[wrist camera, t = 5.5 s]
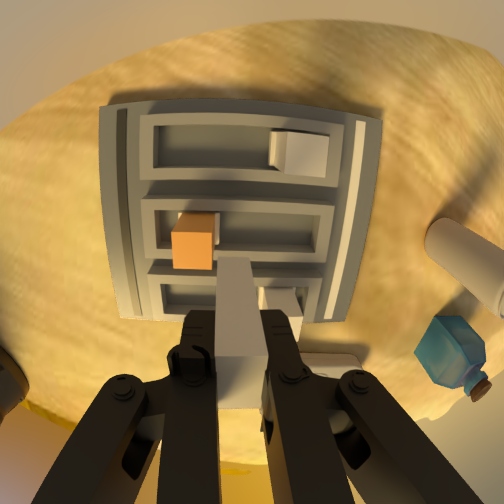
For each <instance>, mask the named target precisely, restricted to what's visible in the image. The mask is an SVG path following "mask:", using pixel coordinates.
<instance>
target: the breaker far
mask: <svg viewBox="0 0 504 504" xmlns="http://www.w3.org/2000/svg"><path fill="white" fill-rule="evenodd" d="M295 291H296V287H263V286H258V295H257V300H258V305H259V310H263V309H281V310H282V311H283V312H284V313H285V314H286V315H287V316H288V319H289V322H290V325H291V328H292V331H293V335H294V337H295V340H296V342H298V340H299V335H300V330H301V325H302V320H303V314H302V312H301V309H300V306H299V304H298V301H297V298H296V295H295Z"/></svg>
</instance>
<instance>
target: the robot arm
mask: <svg viewBox="0 0 504 504" xmlns="http://www.w3.org/2000/svg"><path fill="white" fill-rule="evenodd" d="M181 335H182V336H181V340H180V344H179V345H176V346H175V347H173V348H172V349H171V350H170V351H169V353H168V355H167V361H168V366H169V371H170V374H169V375H168V376H167V377H165V378H163V379H160V380H156V381H150V382H144V383H143V382H142V381H141V380H140V379H139V378H137V377H135V376H134V375H129V374H121V375H116V376H114V377H112V378H110V379H109V380H108V381H107V382H106V383H105V384H104V385H103V387H102V388H101V390H100V391H99V393H98V394H97V396H96V397H95V399H94V400H93V402H92V403H91V405H90V406H89V408H88V409H87V411H86V412H85V414H84V415H83V417H82V418H81V420H80V422H79V423H78V425H77V426H76V428H75V429H74V431H73V433H72V434H71V436H70V438H69V439H68V441H67V442H66V444H65V446H64V447H63V449H62V450H61V452H60V454H59V456H58V457H57V459H56V460H55V462H54V464H53V466H52V467H51V469H50V471H49V472H48V474H47V476H46V477H45V479H44V481H43V483H42V484H41V486H40V488H39V490H38V492H37V493H36V495H35V497H34V499H33V501H32V503H31V504H134V502H135V500H136V498H137V495H138V493H139V490H140V488H141V485H142V483H143V481H144V479H145V476H146V474H147V471H148V469H149V466H150V464H151V462H152V460H153V457H154V455H155V452H156V450H157V448H158V445H159V443H160V441H161V440H162V445H161V455H160V466H159V476H158V489H157V504H222V494H221V475H220V451H219V421H218V409H256V408H261V403H262V407H263V417H262V423H261V429H260V432H264V439H265V446H266V452H267V459H268V466H269V472H270V479H271V486H272V492H273V498H274V504H355V501H354V498H353V495H352V492H351V489H350V485H349V482H348V479H347V476H348V478H349V479H350V481H351V482H352V484H353V485H354V487H355V488H356V490H357V491H358V493H359V494H360V496H361V497H362V499H363V500H364V502H365V503H366V504H484V503H483V502H482V501H481V500H480V499H479V497H478V496H477V495H476V494H475V493H474V491H473V490H472V489H471V488H470V486H469V485H468V484H467V483H466V482H465V480H464V479H463V478H462V477H461V476H460V475H459V473H458V472H457V471H456V470H455V469H454V468H453V466H452V465H451V464H450V463H449V462H448V460H447V459H446V458H445V457H444V456H443V455H442V453H441V452H440V451H439V450H438V449H437V447H436V446H435V445H434V444H433V443H432V442H431V441H430V439H429V438H428V437H427V436H426V435H425V433H424V432H423V431H422V430H421V429H420V428H419V426H418V425H417V424H416V423H415V422H414V421H413V419H412V418H411V417H410V416H409V415H408V414H407V413H406V411H405V410H404V409H403V408H402V407H401V406H400V404H399V403H398V402H397V401H396V400H395V399H394V398H393V396H392V395H391V394H390V393H389V392H388V391H387V390H386V388H385V387H384V386H383V385H382V384H381V383H380V382H379V380H378V379H377V378H376V377H375V376H374V375H372V374H371V373H369V372H367V371H364V370H359V369H354V370H349V371H347V372H345V373H344V374H343V375H342V376H341V378H340V379H338V378H331V377H324V376H320V375H317V374H315V373H313V372H312V371H311V369H310V368H309V367H308V366H307V365H305V364H304V363H303V361H302V359H301V355H300V352H299V349H298V346H297V343H296V340H295V337H294V335H293V331H292V328H291V325H290V322H289V319H288V316H287V315H286V314H285V313H284V312H283V311H282V310H281V309H263V310H259V305H258V300H257V295H256V290H255V285H254V280H253V274H252V269H251V264H250V259H249V257H218V261H217V284H216V310H190V312H189V313H188V314H187V315H186V316H185V317H184V322H183V328H182V334H181ZM28 391H29V385H28V382H27V380H26V378H25V376H24V375H23V373H22V371H21V370H20V369H19V367H18V366H17V365H16V363H15V362H14V361H13V360H12V358H11V357H10V356H9V355H8V354H7V353H6V352H5V351H4V350H3V349H2V348H1V347H0V426H1V423H2V421H3V419H4V417H5V416H6V415H7V414H8V413H9V412H10V411H11V410H12V409H13V408H15V406H17V404H18V403H20V402H22V401H23V400H24V399H25V397H26V395H27V393H28Z"/></svg>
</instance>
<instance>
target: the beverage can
mask: <svg viewBox="0 0 504 504" xmlns="http://www.w3.org/2000/svg"><path fill="white" fill-rule="evenodd" d="M425 251H426V254H427V255H428V256H429V257H430V258H431V259H432V260H434V261H435V262H436V263H437V264H439V265H440V266H441V267H442V268H443V269H445V270H446V271H447V272H448V273H450V274H451V275H452V276H453V277H454V278H455V279H457V280H458V281H459V282H460V283H461V284H462V285H463V286H464V287H466V288H467V289H468V290H469V291H470V292H471V293H472V294H473V295H474V296H475V297H476V298H477V299H479V300H480V301H481V302H482V303H483V304H484V305H485V306H486V307H487V308H488V309H489V310H490V311H491V312H492V313H493V314H494V315H496V316H499V317H500V318H501V319H504V250H502V249H500V248H499V247H497V246H496V245H494V244H493V243H491V242H489V241H488V240H486V239H485V238H483V237H481V236H480V235H478V234H476V233H475V232H473V231H471V230H469V229H468V228H466V227H464V226H463V225H461V224H459V223H457V222H455V221H454V220H452V219H450V218H441V219H438V220H437V221H435V222H434V223H433V224H432V225H431V226H430V227H429V229H428V231H427V233H426V236H425Z"/></svg>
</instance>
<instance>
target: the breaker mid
mask: <svg viewBox="0 0 504 504" xmlns="http://www.w3.org/2000/svg"><path fill="white" fill-rule="evenodd" d="M171 237H172V255H173V268H175V269H207V270H212V263H213V256H214V248H215V245H219V239H220V211H198V210H180V211H179V212H178V221H177V223H176V224H175V226H174V228H173V230H172V232H171Z"/></svg>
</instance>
